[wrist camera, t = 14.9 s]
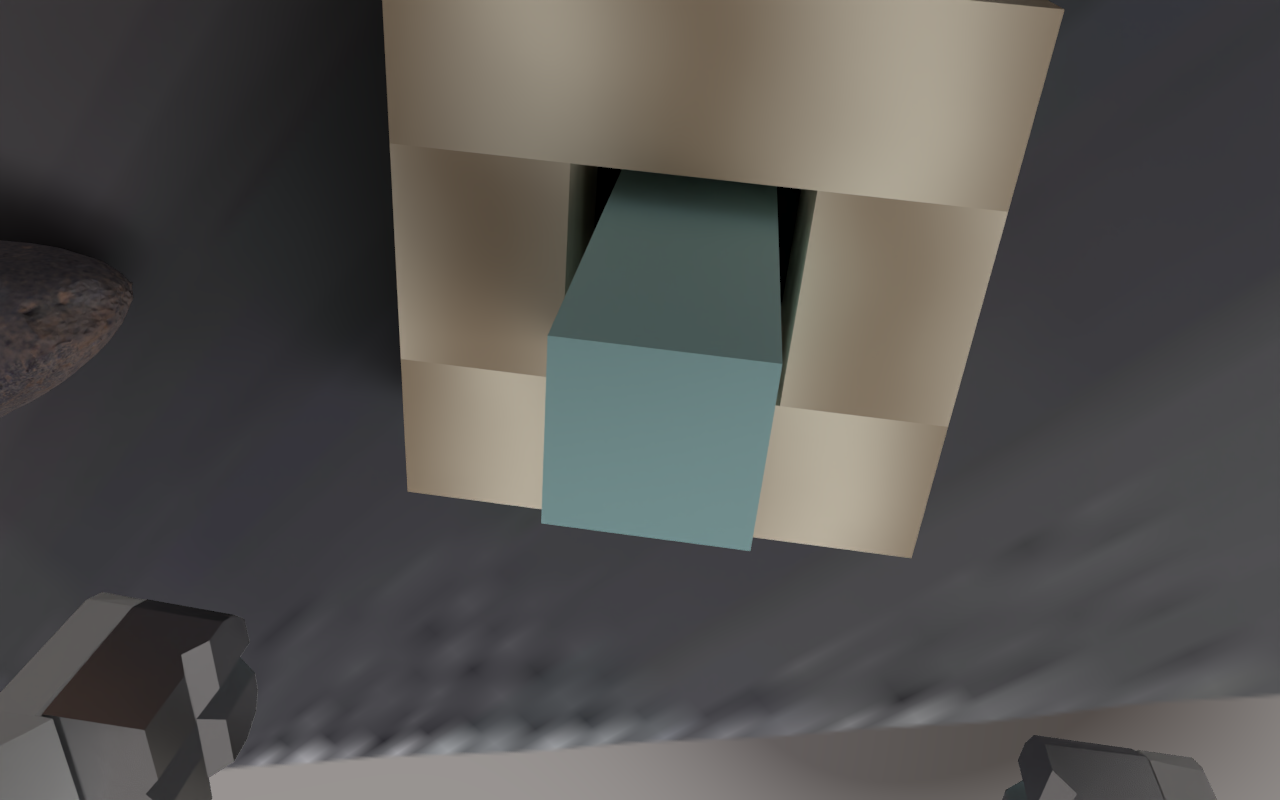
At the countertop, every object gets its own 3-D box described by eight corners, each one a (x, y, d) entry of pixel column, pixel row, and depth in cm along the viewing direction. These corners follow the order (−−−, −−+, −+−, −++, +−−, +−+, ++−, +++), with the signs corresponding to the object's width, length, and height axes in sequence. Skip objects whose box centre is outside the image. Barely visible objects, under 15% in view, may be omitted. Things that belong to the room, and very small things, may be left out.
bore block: (1013, -19, 20) (1064, 9, 17) (892, 463, 26) (911, 558, 23) (443, -74, 21) (379, -59, 17) (453, 408, 27) (407, 491, 23)
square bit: (776, 165, 22) (782, 363, 14) (756, 299, 24) (750, 550, 16) (630, 149, 23) (547, 334, 14) (621, 283, 24) (541, 522, 16)
